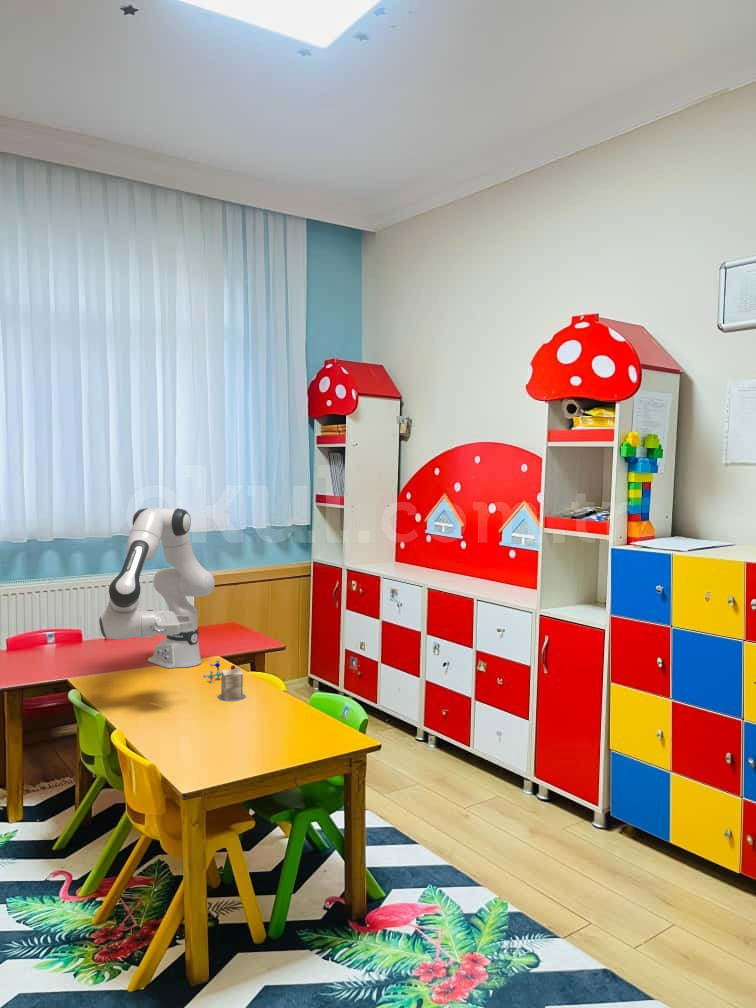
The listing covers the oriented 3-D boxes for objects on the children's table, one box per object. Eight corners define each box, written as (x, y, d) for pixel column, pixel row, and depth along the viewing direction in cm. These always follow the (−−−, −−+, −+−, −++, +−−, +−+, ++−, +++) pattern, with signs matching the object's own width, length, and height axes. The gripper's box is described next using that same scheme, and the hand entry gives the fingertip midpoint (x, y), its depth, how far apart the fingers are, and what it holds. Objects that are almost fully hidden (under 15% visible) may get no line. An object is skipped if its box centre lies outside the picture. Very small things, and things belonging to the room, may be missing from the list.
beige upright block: (224, 700, 274) (224, 675, 274) (221, 694, 280) (221, 670, 280) (242, 698, 277) (242, 673, 276) (239, 693, 283) (239, 668, 282)
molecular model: (210, 679, 289) (213, 653, 294) (200, 686, 295) (202, 660, 300) (239, 684, 294) (241, 658, 299) (228, 691, 301) (230, 665, 306)
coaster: (211, 699, 277) (211, 698, 277) (230, 692, 285) (230, 690, 285) (233, 704, 272) (233, 703, 272) (251, 697, 280) (251, 695, 280)
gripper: (152, 622, 259) (194, 619, 264) (147, 608, 278) (187, 606, 283) (152, 640, 260) (194, 637, 265) (147, 626, 279) (187, 623, 284)
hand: (190, 621), depth 274 cm, fingers open, 8 cm apart
